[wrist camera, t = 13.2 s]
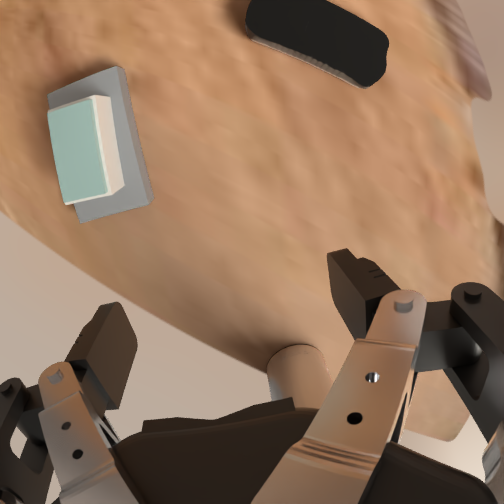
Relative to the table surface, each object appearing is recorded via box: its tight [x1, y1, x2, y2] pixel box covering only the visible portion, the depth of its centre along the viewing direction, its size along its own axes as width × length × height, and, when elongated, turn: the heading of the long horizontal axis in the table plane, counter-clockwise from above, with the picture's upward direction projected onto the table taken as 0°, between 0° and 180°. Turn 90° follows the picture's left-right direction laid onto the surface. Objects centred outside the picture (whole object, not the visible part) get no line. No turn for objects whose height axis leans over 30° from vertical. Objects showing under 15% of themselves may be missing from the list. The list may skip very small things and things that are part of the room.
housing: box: [47, 95, 125, 205], centre depth 28 cm, size 6×10×5 cm, turn 6°
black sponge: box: [245, 0, 389, 89], centre depth 29 cm, size 16×8×4 cm, turn 68°
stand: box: [47, 66, 154, 224], centre depth 32 cm, size 16×9×3 cm, turn 11°
